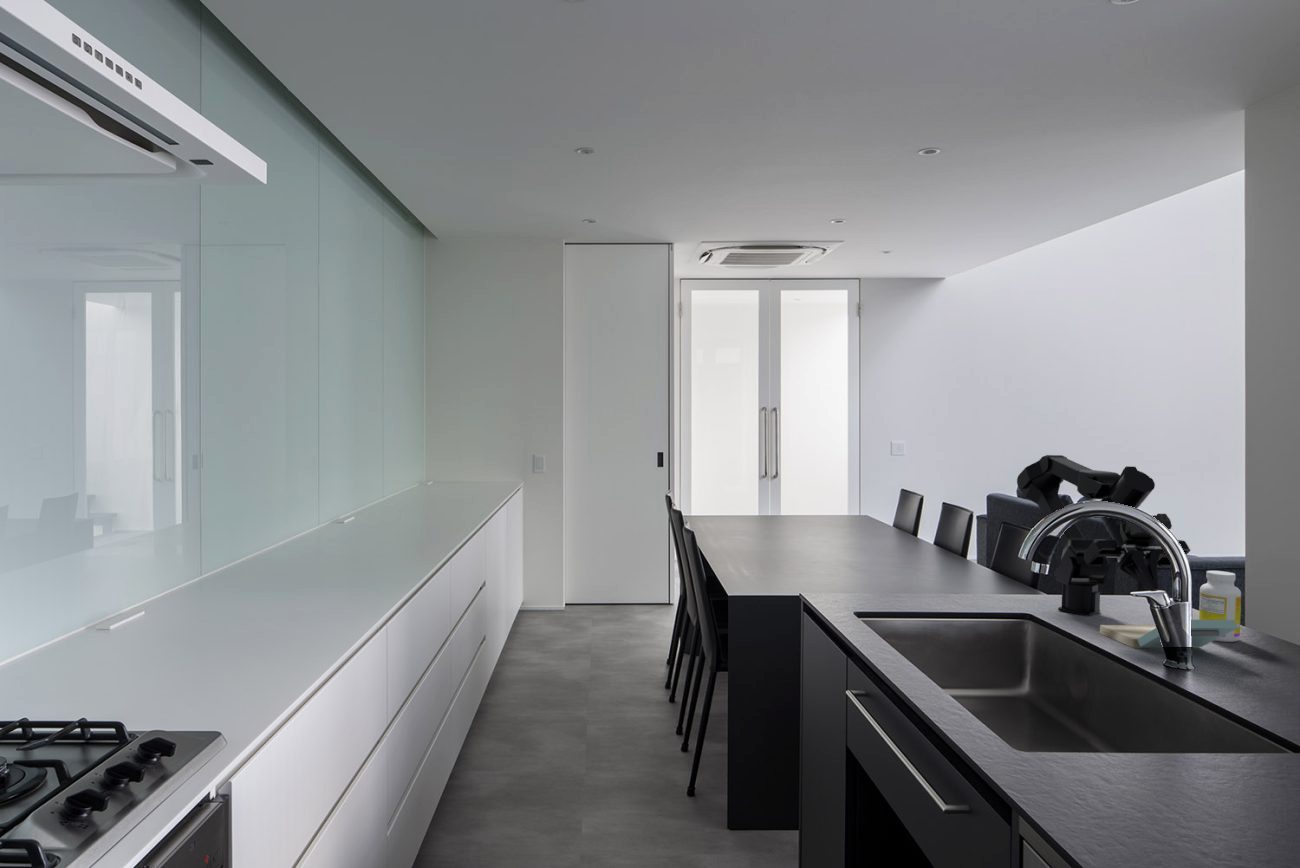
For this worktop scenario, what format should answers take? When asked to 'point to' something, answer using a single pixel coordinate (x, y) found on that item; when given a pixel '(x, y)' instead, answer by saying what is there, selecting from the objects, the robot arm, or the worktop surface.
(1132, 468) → the robot arm
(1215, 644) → the worktop surface
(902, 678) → the worktop surface
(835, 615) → the worktop surface
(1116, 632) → the plate
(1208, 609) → the supplement bottle
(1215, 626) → the panel
